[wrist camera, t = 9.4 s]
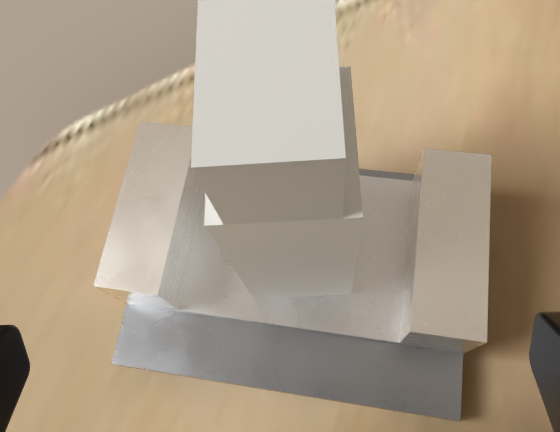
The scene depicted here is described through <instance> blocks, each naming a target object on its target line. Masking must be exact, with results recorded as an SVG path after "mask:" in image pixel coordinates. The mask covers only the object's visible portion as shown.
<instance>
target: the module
mask: <svg viewBox="0 0 560 432" xmlns="http://www.w3.org/2000/svg"><path fill="white" fill-rule="evenodd" d="M197 16H198V17H197V38H196V61H195V84H194V107H193V131H192V154H191V169H192V170H193V172H194V174H195V176H196V177H197V179H198V181H199V183H200V184H201V186H202V188H203V190H204V191H205V218H204V226H205V228H206V229H207V230H208V232H209V233H210V235H211V236H212V238H213V239H214V241H215V242H216V244H217V245H218V247H219V248H220V250H221V251H222V253H223V254H224V255H225V257H226V258H227V260H228V261H229V263H230V264H231V266H232V267H233V269H234V270H235V272H236V273H237V275H238V276H239V277H240V279H241V280H242V282H243V283H244V285H245V286H246V288H247V289H248V291H249V292H250V294H251V295H252V297H253V298H278V297H302V296H327V295H351V291H352V285H353V279H354V272H355V266H356V259H357V253H358V246H359V240H360V233H361V227H362V220H363V212H362V200H361V188H360V176H359V164H358V152H357V140H356V128H355V116H354V104H353V92H352V80H351V68H350V66H347V67H339V59H338V45H337V32H336V18H335V5H334V0H198V14H197Z"/></svg>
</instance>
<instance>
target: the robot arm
mask: <svg viewBox="0 0 560 432" xmlns="http://www.w3.org/2000/svg"><path fill="white" fill-rule="evenodd" d="M529 358H530V364H531V368H532V371H533V374H534V377H535V379H536V382H537V385H538V388H539V391H540V394H541V397H542V399H543V402H544V405H545V408H546V411H547V414H548V416H549V419H550V422H551V425H552V428H553V431H554V432H560V312H540V313H539V314H537V315H536V317H535V320H534V326H533V333H532V339H531V346H530V353H529ZM29 371H30V362H29V358H28V355H27V352H26V349H25V346H24V343H23V340H22V337H21V334H20V331H19V329H18V328H17V327H16V326H14V325H0V432H5V431H6V429H7V426H8V424H9V422H10V419H11V417H12V414H13V412H14V409H15V407H16V405H17V402H18V400H19V397H20V395H21V392H22V390H23V388H24V385H25V383H26V380H27V378H28V375H29Z"/></svg>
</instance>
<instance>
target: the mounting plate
mask: <svg viewBox="0 0 560 432" xmlns="http://www.w3.org/2000/svg"><path fill="white" fill-rule="evenodd" d="M192 131H193V127H192V126H181V125H170V124H160V123H149V122H140V123H139V127H138V130H137V134H136V138H135V141H134V145H133V148H132V152H131V155H130V159H129V162H128V166H127V169H126V173H125V176H124V180H123V183H122V187H121V190H120V194H119V197H118V201H117V205H116V208H115V212H114V215H113V219H112V222H111V226H110V229H109V233H108V236H107V240H106V243H105V247H104V250H103V254H102V257H101V261H100V264H99V268H98V271H97V275H96V279H95V282H94V287H96V288H98V289H100V290H102V291H103V292H105V293H107V294H109V295H111V296H113V297H115V298H116V299H118V300H120V301H122V302H124V303H126V304H127V306H126V310H125V314H124V317H123V321H122V325H121V329H120V333H119V337H118V341H117V345H116V348H115V352H114V356H113V360H112V364H115V365H120V366H126V367H132V368H138V369H144V370H150V371H156V372H162V373H168V374H174V375H180V376H186V377H192V378H198V379H204V380H210V381H216V382H222V383H228V384H235V385H241V386H247V387H253V388H259V389H265V390H271V391H277V392H283V393H289V394H295V395H301V396H307V397H313V398H319V399H325V400H331V401H337V402H344V403H350V404H356V405H362V406H368V407H374V408H380V409H386V410H392V411H398V412H404V413H410V414H416V415H422V416H428V417H434V418H440V419H446V420H453V421H461V398H462V372H463V353H466V352H468V351H470V350H472V349H474V348H476V347H479V346H481V345H483V344H485V343H487V323H488V281H489V240H490V198H491V157H492V155H488V154H478V153H467V152H457V151H446V150H435V149H425V148H424V149H423V152H422V155H421V158H420V161H419V163H418V166H417V169H416V172H415V175H413V174H403V173H393V172H383V171H374V170H364V169H359V176H360V188H361V200H362V212H363V220H362V227H361V233H360V240H359V246H358V253H357V259H356V266H355V272H354V279H353V285H352V291H351V295H327V296H302V297H278V298H253V297H252V295H251V294H250V292H249V291H248V289H247V288H246V286H245V285H244V283H243V282H242V280H241V279H240V277H239V276H238V275H237V273H236V272H235V270H234V269H233V267H232V266H231V264H230V263H229V261H228V260H227V258H226V257H225V255H224V254H223V253H222V251H221V250H220V248H219V247H218V245H217V244H216V242H215V241H214V239H213V238H212V236H211V235H210V233H209V232H208V230H207V229H206V228H205V226H204V218H205V191H204V190H203V188H202V186H201V184H200V183H199V181H198V179H197V177H196V176H195V174H194V172H193V170H192V169H191V154H192Z"/></svg>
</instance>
